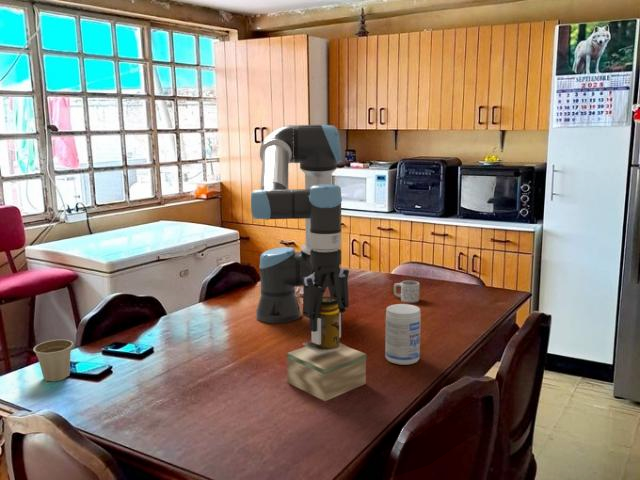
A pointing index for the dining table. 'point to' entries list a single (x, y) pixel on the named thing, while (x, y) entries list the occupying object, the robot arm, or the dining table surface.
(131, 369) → the dining table surface
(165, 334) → the dining table surface
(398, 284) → the mug
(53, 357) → the flower pot
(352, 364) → the wooden box
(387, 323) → the supplement tub
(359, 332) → the dining table surface
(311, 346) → the condiment
